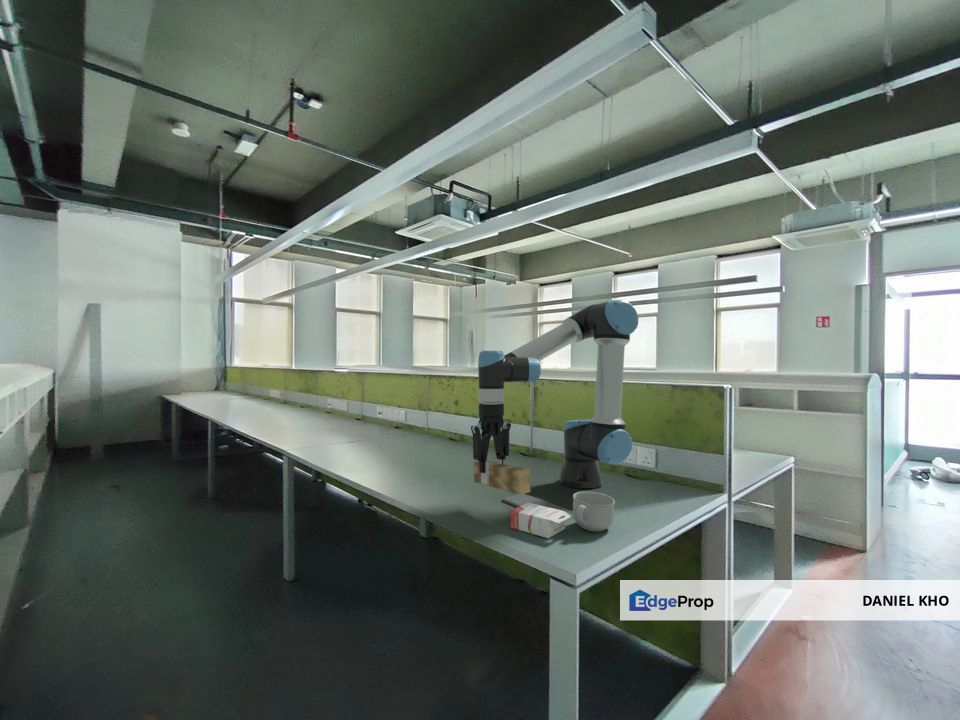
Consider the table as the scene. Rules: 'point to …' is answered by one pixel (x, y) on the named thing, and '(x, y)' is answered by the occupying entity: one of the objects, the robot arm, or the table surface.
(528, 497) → the tool mat
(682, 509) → the table surface
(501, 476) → the oak stick
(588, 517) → the teacup
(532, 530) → the ink cartridge box
